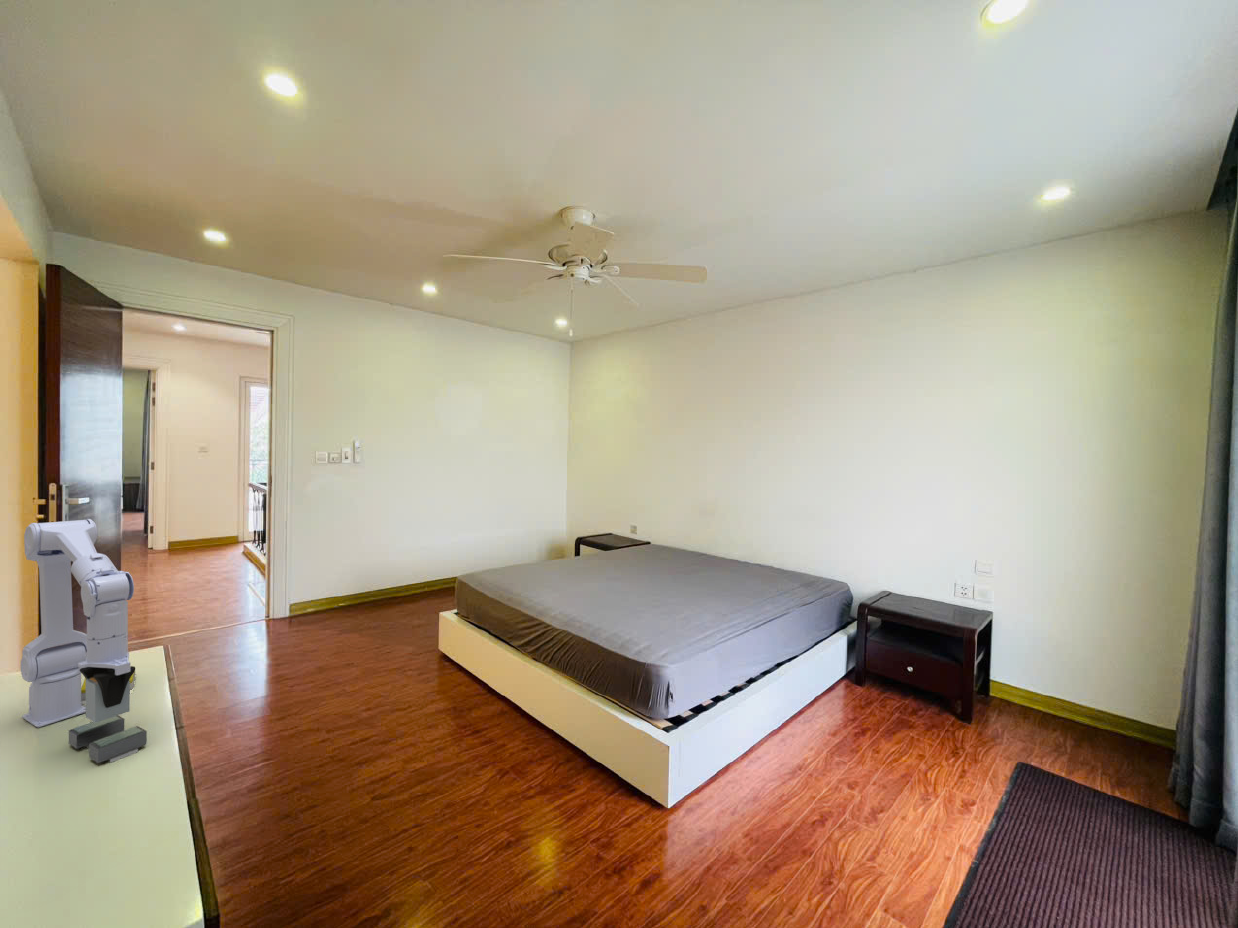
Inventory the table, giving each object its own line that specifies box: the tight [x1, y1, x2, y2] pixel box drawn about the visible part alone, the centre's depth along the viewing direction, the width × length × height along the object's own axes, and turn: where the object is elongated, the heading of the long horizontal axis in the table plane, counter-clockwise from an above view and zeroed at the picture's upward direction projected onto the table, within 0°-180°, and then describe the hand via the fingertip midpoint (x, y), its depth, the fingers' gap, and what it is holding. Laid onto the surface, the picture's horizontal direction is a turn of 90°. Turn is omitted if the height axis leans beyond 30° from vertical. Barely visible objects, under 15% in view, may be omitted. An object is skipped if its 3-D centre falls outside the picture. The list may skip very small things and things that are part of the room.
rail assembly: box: [68, 715, 148, 764], centre depth 99 cm, size 15×7×4 cm, turn 64°
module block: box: [85, 677, 131, 723], centre depth 99 cm, size 4×5×8 cm
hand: (107, 702), depth 99 cm, fingers closed on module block, 4 cm apart
